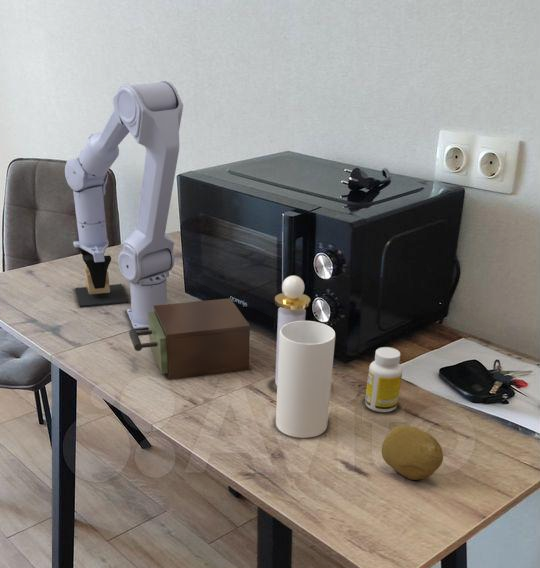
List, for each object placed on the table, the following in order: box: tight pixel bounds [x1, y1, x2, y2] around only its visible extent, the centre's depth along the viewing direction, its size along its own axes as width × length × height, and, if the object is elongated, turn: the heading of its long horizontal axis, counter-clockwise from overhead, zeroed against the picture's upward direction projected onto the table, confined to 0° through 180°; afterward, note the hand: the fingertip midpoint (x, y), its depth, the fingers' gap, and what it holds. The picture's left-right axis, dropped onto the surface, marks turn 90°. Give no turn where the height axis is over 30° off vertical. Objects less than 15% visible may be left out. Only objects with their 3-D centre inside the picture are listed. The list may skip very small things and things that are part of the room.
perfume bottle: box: [273, 275, 311, 386], centre depth 117 cm, size 6×6×20 cm
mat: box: [74, 283, 129, 308], centre depth 152 cm, size 10×10×1 cm
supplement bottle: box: [364, 346, 403, 413], centre depth 115 cm, size 5×5×10 cm
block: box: [83, 267, 110, 295], centre depth 150 cm, size 4×4×4 cm
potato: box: [381, 425, 444, 481], centre depth 99 cm, size 7×8×8 cm
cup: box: [275, 320, 336, 439], centre depth 108 cm, size 8×8×16 cm
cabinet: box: [153, 297, 251, 380], centre depth 127 cm, size 15×13×9 cm
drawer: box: [128, 312, 168, 375], centre depth 126 cm, size 18×11×7 cm, turn 108°
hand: (97, 283), depth 151 cm, fingers closed on block, 4 cm apart
